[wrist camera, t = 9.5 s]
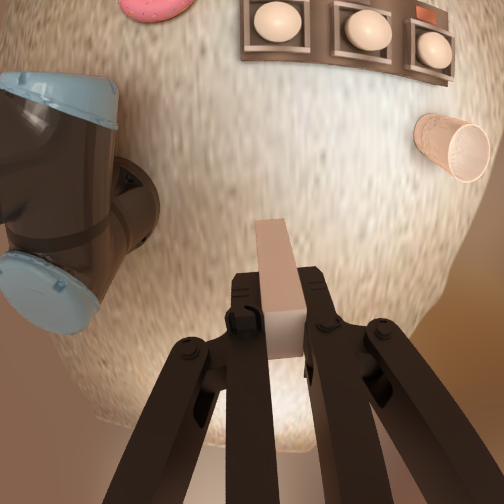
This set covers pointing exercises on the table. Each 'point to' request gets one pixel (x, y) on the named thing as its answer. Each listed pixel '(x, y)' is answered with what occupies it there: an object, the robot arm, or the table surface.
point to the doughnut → (153, 9)
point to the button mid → (368, 30)
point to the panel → (337, 44)
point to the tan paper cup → (453, 145)
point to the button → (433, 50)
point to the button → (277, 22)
